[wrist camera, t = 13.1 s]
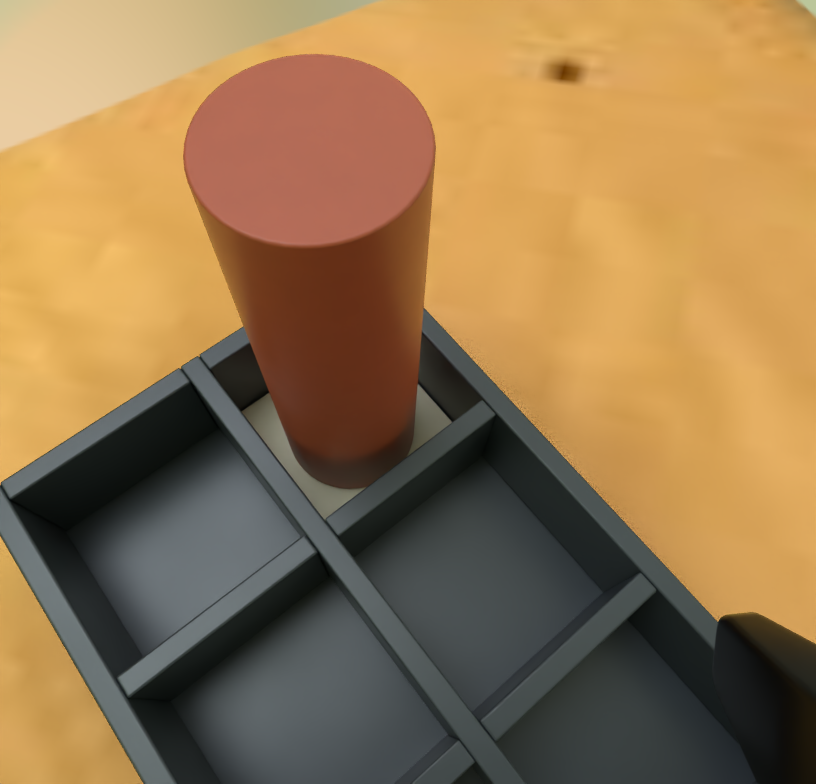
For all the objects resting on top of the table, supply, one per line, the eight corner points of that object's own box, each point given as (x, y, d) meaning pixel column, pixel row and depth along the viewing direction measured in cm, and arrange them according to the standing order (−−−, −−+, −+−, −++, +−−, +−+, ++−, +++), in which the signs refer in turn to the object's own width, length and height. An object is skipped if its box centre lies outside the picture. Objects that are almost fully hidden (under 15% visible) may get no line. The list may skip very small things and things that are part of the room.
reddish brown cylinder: (372, 512, 22) (350, 289, 10) (263, 449, 22) (129, 175, 11) (436, 408, 23) (480, 110, 12) (332, 352, 24) (277, 21, 12)
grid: (431, 1169, 16) (443, 1304, 12) (46, 532, 22) (-24, 496, 18) (784, 773, 19) (875, 788, 16) (370, 313, 25) (367, 245, 22)
